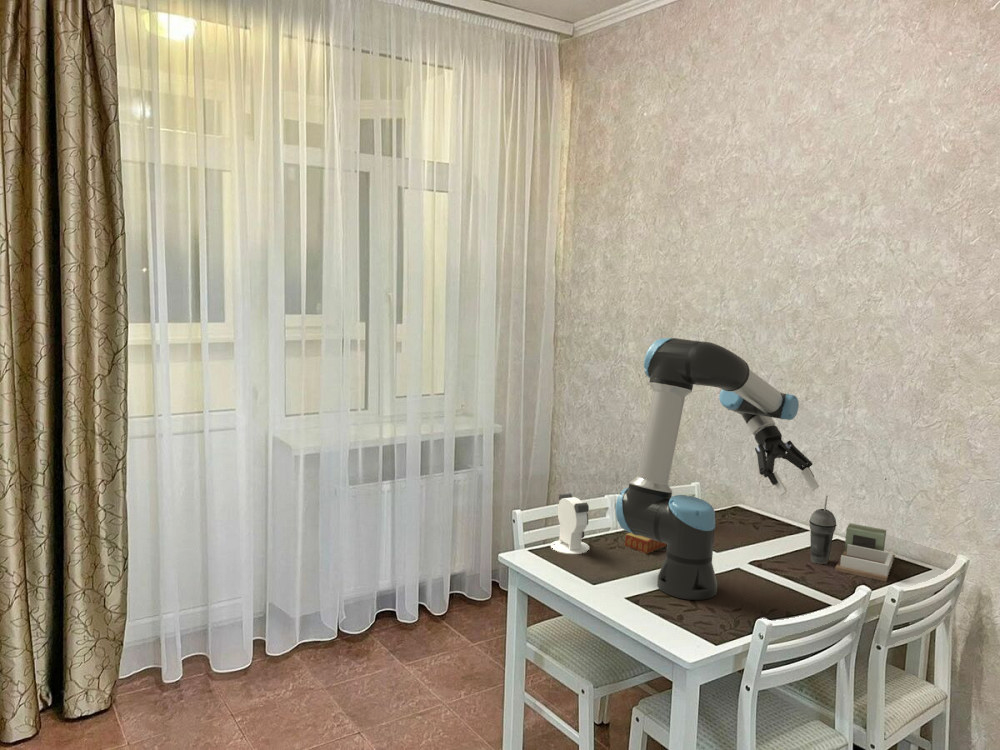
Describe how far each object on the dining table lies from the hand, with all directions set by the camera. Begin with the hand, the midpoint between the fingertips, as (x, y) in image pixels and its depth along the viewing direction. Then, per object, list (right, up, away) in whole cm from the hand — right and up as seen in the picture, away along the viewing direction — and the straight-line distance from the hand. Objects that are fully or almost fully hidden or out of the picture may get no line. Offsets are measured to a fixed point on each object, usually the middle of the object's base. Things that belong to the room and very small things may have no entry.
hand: (799, 491), depth 231 cm
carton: (-43, -17, +4) cm, 47 cm away
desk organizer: (+16, -20, -7) cm, 27 cm away
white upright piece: (-68, -17, -1) cm, 70 cm away
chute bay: (+15, -20, -10) cm, 27 cm away
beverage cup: (+3, -20, -6) cm, 21 cm away
